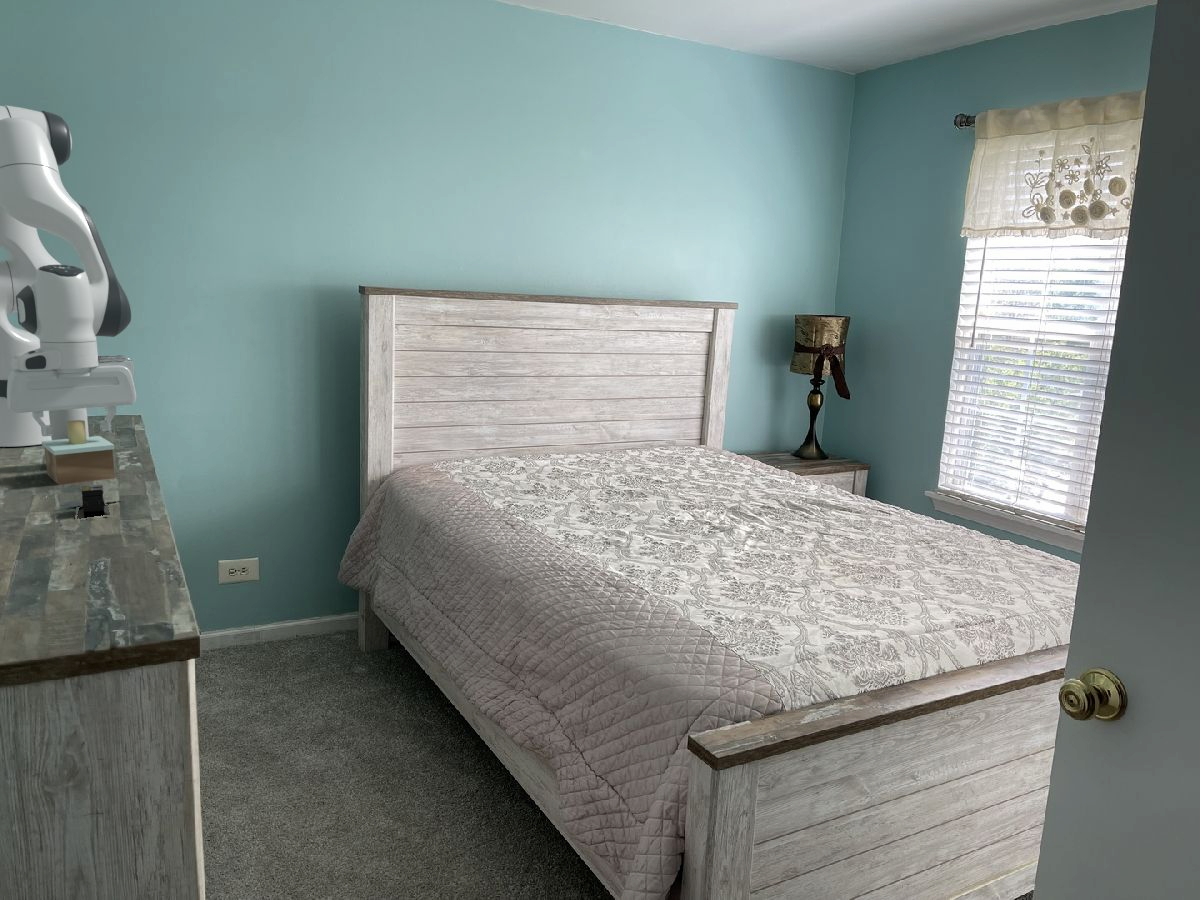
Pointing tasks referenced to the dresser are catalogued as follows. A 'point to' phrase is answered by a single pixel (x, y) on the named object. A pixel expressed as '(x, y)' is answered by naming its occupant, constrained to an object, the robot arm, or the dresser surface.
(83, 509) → the black stepped block
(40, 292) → the robot arm
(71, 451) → the lid
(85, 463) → the box
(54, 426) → the travel mug
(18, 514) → the dresser surface
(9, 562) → the dresser surface
